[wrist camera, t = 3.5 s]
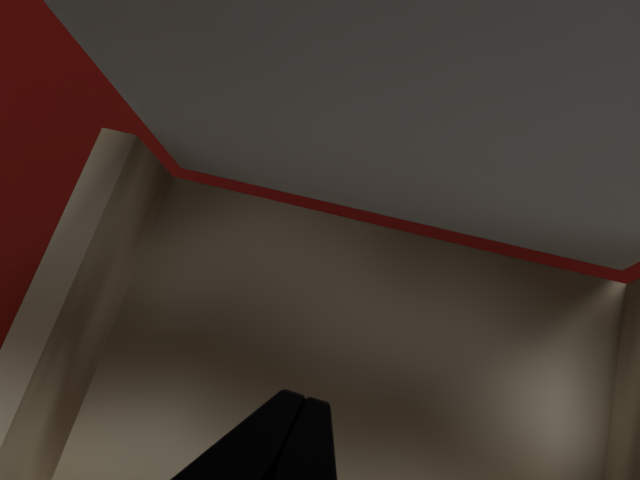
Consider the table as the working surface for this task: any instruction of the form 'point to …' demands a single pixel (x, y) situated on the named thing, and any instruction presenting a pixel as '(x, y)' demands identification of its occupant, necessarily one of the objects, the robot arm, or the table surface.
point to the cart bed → (305, 341)
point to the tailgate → (398, 106)
